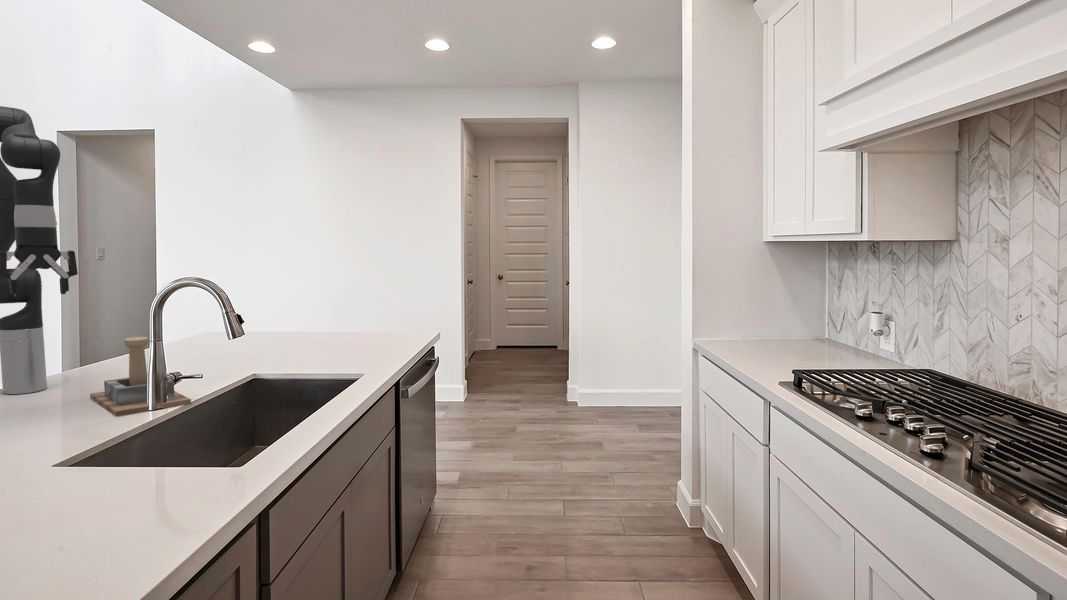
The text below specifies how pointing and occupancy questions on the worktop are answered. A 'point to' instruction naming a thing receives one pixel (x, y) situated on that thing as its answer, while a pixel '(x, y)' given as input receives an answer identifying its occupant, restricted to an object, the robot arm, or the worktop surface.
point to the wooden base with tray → (133, 397)
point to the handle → (137, 360)
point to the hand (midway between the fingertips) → (40, 295)
